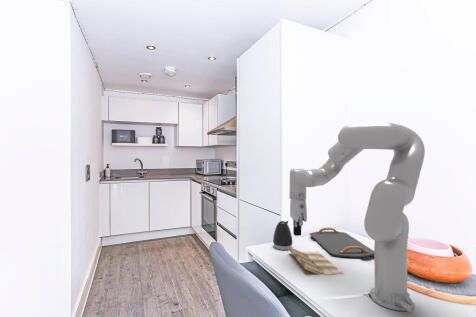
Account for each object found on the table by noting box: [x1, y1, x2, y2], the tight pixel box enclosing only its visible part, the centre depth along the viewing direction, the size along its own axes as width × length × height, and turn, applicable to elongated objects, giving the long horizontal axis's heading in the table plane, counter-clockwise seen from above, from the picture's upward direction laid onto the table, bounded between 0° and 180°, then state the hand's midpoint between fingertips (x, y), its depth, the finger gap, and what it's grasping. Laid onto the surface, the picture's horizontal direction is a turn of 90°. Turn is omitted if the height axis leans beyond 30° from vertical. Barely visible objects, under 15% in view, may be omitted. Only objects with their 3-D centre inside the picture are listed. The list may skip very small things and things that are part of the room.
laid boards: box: [302, 251, 344, 276], centre depth 110 cm, size 24×8×1 cm, turn 7°
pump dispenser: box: [272, 220, 293, 251], centre depth 129 cm, size 10×10×15 cm
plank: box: [288, 246, 324, 275], centre depth 109 cm, size 22×8×1 cm, turn 7°
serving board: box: [309, 227, 374, 259], centre depth 133 cm, size 39×23×6 cm, turn 2°
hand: (297, 234), depth 112 cm, fingers closed
